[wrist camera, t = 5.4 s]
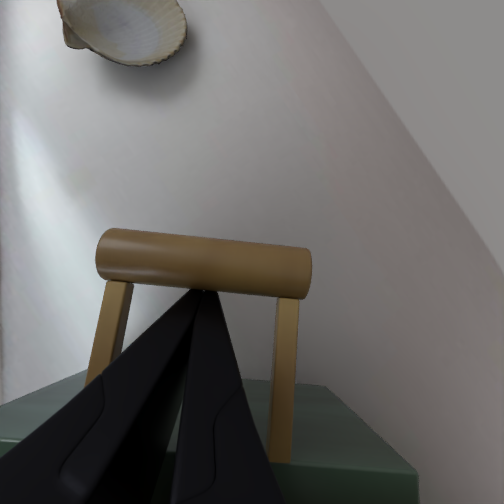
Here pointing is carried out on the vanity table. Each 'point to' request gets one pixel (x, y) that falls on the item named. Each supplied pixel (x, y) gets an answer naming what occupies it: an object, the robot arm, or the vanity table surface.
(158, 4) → the seashell
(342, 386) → the vanity table surface
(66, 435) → the robot arm
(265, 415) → the drawer
